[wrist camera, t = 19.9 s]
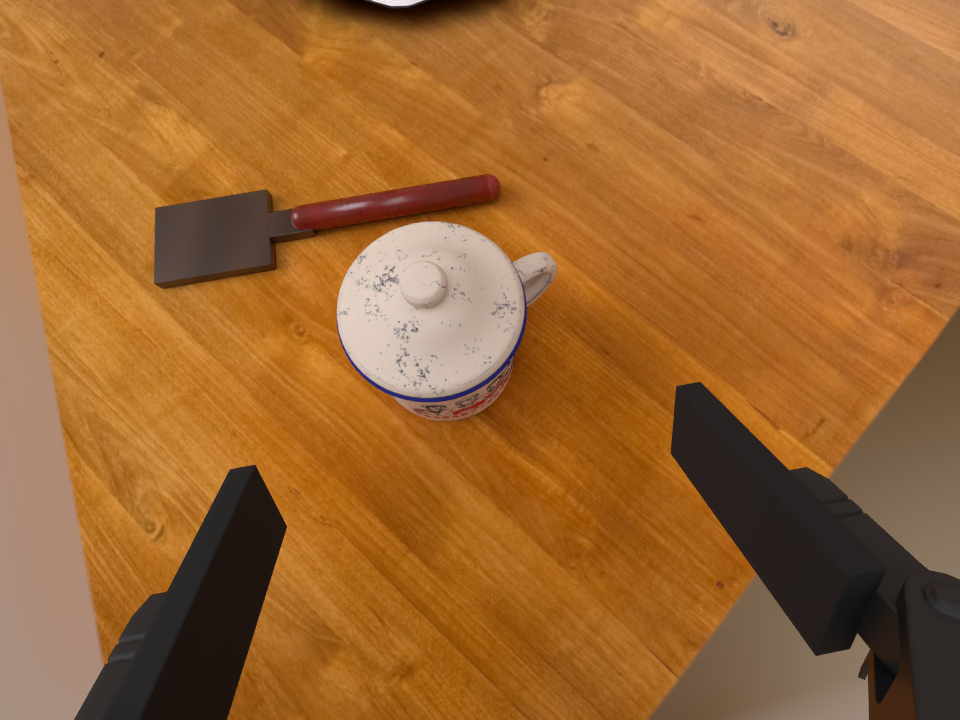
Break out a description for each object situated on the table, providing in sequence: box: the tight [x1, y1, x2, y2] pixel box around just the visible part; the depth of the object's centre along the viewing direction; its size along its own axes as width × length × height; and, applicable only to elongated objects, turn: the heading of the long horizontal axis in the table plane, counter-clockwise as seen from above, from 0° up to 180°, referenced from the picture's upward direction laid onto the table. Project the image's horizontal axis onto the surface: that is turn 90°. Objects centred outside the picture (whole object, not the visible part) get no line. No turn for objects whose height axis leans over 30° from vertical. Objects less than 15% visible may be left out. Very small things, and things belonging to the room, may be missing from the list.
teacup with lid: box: [337, 222, 557, 421], centre depth 25 cm, size 12×9×12 cm
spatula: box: [154, 174, 500, 288], centre depth 32 cm, size 24×6×2 cm, turn 100°
